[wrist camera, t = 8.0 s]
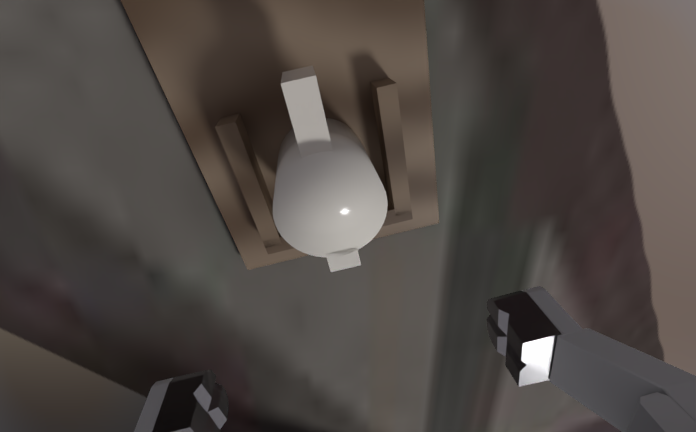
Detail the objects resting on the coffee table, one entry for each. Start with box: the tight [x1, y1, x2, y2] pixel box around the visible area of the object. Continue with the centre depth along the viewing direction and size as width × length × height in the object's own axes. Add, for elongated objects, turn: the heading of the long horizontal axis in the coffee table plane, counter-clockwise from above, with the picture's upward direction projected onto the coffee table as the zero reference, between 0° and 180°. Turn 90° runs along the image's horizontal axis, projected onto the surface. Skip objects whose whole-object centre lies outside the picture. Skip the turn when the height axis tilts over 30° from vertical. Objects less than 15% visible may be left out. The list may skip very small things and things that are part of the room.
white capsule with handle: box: [273, 65, 388, 272], centre depth 20 cm, size 10×6×7 cm, turn 11°
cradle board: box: [121, 0, 439, 270], centre depth 22 cm, size 22×16×3 cm
